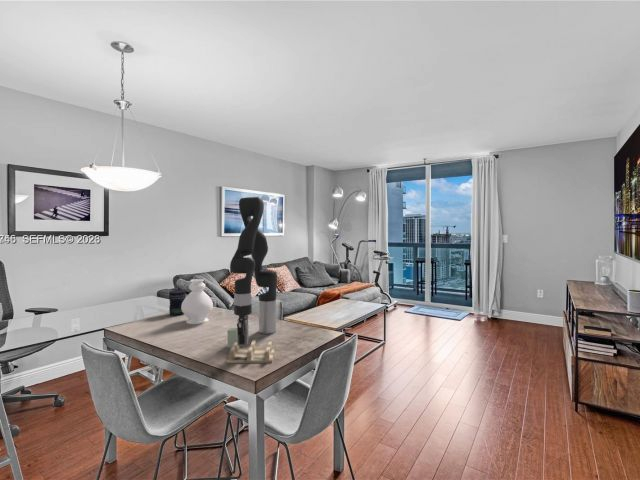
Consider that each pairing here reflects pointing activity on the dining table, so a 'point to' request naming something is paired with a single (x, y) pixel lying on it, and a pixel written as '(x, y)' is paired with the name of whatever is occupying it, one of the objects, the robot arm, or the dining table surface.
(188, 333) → the dining table surface
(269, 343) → the slot rack
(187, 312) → the decorative vase
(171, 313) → the storage jar
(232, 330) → the sage plug
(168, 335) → the dining table surface
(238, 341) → the charcoal plug
